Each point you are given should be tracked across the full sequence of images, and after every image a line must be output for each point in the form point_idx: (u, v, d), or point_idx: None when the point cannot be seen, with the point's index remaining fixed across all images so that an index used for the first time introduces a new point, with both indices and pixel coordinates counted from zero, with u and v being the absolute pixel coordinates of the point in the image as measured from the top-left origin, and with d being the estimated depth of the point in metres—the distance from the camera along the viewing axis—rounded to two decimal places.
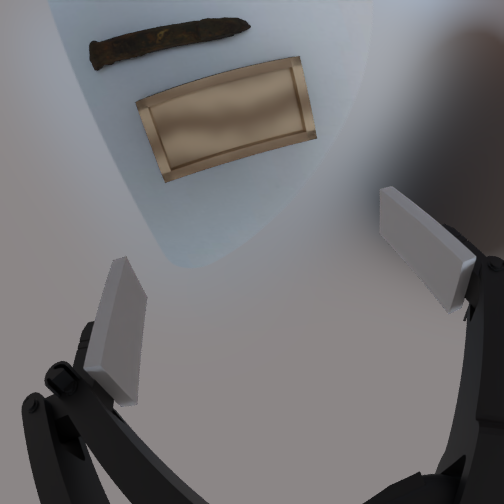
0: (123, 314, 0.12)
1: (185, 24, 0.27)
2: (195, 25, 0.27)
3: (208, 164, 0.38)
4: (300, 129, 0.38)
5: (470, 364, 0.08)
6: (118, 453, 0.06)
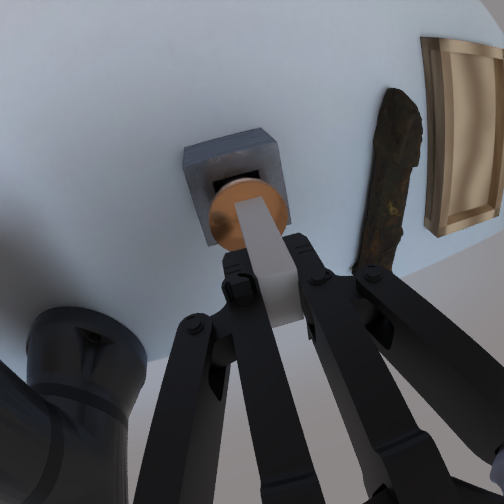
0: None
1: (390, 179, 0.23)
2: (397, 168, 0.23)
3: (503, 172, 0.26)
4: (493, 60, 0.20)
5: (337, 388, 0.08)
6: (266, 380, 0.08)
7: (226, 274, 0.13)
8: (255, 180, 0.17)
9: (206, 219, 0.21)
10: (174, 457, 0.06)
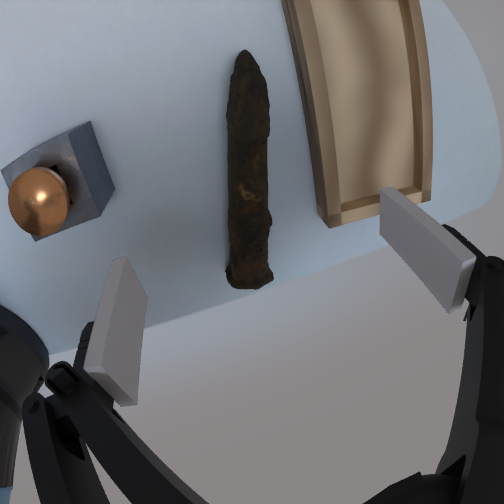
0: (123, 314, 0.12)
1: (235, 156, 0.21)
2: (240, 142, 0.20)
3: (428, 142, 0.23)
4: (398, 3, 0.17)
5: (470, 364, 0.08)
6: (118, 453, 0.06)
7: (78, 349, 0.11)
8: (35, 168, 0.15)
9: None
10: None
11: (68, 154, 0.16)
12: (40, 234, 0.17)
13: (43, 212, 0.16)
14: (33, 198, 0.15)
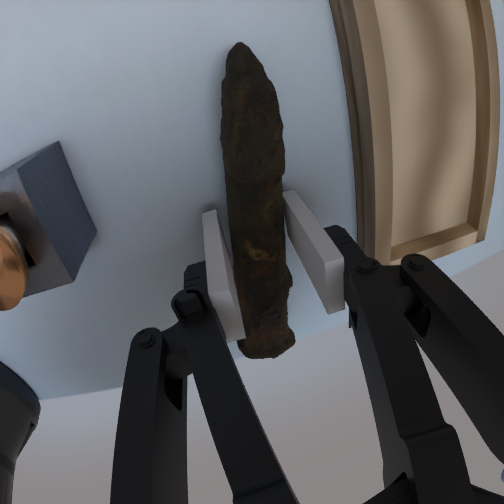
0: (225, 255, 0.14)
1: (236, 204, 0.15)
2: (242, 183, 0.14)
3: (492, 173, 0.17)
4: None
5: (372, 376, 0.08)
6: (224, 393, 0.08)
7: (185, 287, 0.13)
8: None
9: None
10: (140, 467, 0.06)
11: (21, 198, 0.11)
12: None
13: None
14: None
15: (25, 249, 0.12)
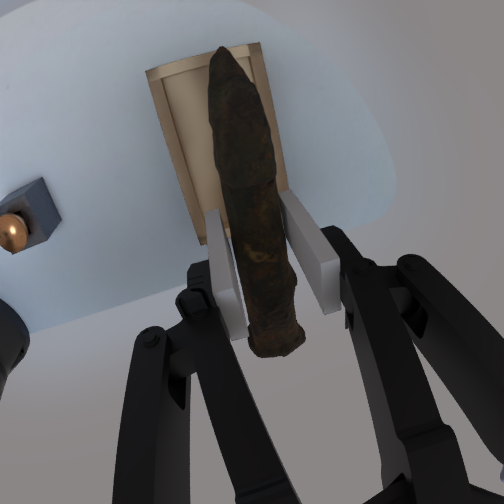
0: (228, 254, 0.14)
1: (232, 209, 0.15)
2: (235, 188, 0.14)
3: (281, 174, 0.33)
4: (247, 59, 0.27)
5: (369, 377, 0.08)
6: (227, 392, 0.08)
7: (189, 286, 0.13)
8: (7, 214, 0.25)
9: None
10: (143, 466, 0.06)
11: (25, 204, 0.26)
12: (13, 251, 0.27)
13: (14, 239, 0.26)
14: (7, 231, 0.25)
15: (27, 226, 0.28)
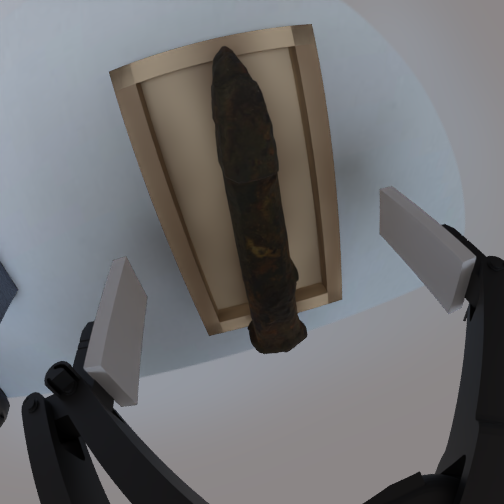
0: (123, 314, 0.12)
1: (235, 204, 0.15)
2: (238, 184, 0.14)
3: (333, 240, 0.21)
4: (287, 53, 0.15)
5: (470, 364, 0.08)
6: (118, 453, 0.06)
7: (78, 349, 0.11)
8: None
9: None
10: None
11: None
12: None
13: None
14: None
15: None
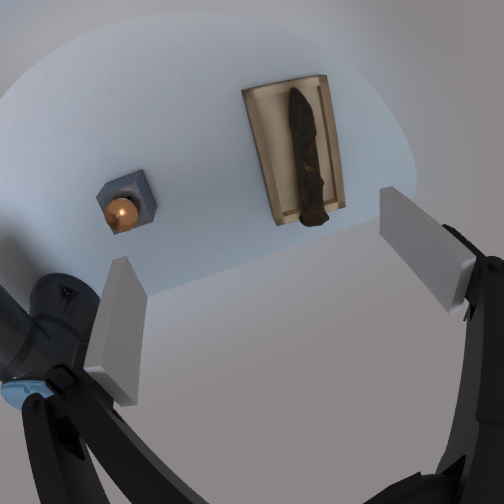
0: (123, 314, 0.12)
1: (300, 148, 0.37)
2: (301, 140, 0.36)
3: (338, 172, 0.43)
4: (316, 87, 0.37)
5: (470, 364, 0.08)
6: (118, 453, 0.06)
7: (78, 349, 0.11)
8: (121, 199, 0.36)
9: None
10: None
11: (136, 191, 0.38)
12: (122, 230, 0.38)
13: (125, 220, 0.37)
14: (119, 213, 0.37)
15: None
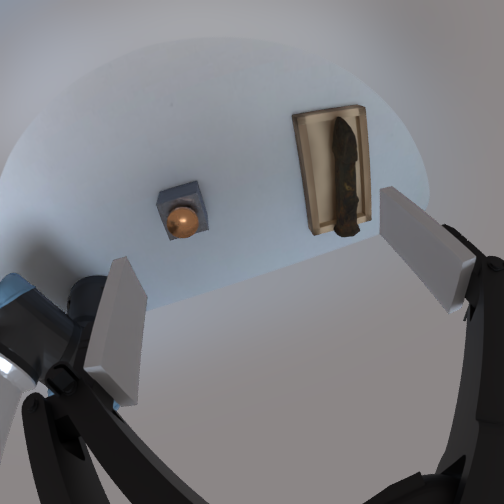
0: (123, 314, 0.12)
1: (342, 170, 0.43)
2: (345, 163, 0.42)
3: (368, 190, 0.49)
4: (354, 116, 0.43)
5: (470, 364, 0.08)
6: (118, 453, 0.06)
7: (78, 349, 0.11)
8: (184, 208, 0.41)
9: None
10: None
11: (196, 201, 0.43)
12: (181, 237, 0.43)
13: (186, 227, 0.43)
14: (181, 221, 0.42)
15: None
